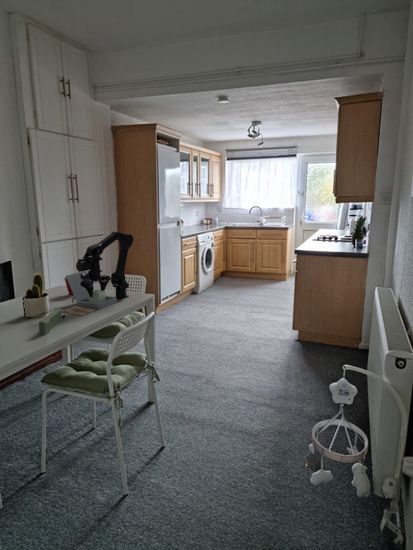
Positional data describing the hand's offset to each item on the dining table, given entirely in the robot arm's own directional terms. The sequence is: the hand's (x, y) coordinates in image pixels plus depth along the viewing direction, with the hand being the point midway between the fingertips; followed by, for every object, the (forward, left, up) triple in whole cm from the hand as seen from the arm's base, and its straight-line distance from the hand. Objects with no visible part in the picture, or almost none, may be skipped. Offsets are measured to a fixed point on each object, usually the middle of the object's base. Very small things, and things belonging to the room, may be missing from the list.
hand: (96, 295), depth 212 cm
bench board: (+15, 0, -5) cm, 16 cm away
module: (0, 0, -5) cm, 5 cm away
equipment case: (0, -3, -5) cm, 6 cm away
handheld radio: (+37, +6, -6) cm, 38 cm away
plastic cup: (-11, -29, -6) cm, 31 cm away
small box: (+28, -17, -6) cm, 33 cm away
